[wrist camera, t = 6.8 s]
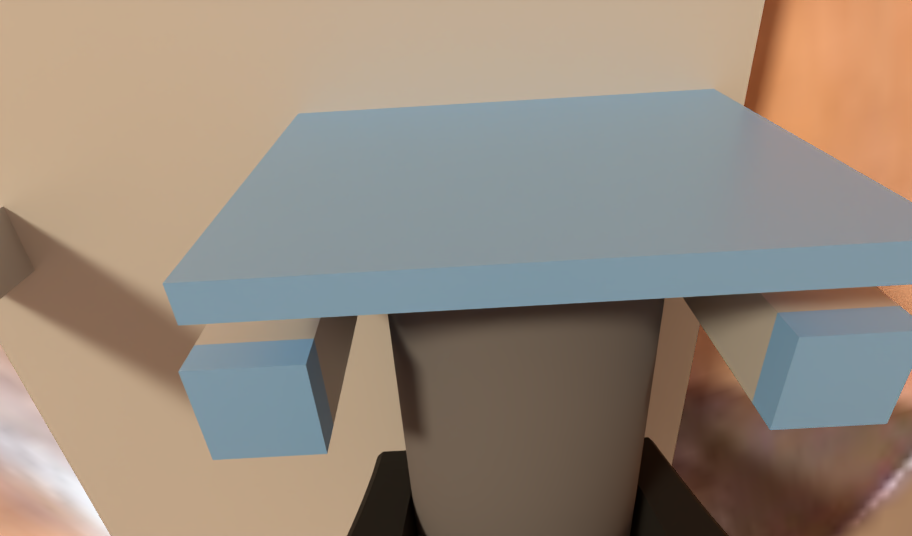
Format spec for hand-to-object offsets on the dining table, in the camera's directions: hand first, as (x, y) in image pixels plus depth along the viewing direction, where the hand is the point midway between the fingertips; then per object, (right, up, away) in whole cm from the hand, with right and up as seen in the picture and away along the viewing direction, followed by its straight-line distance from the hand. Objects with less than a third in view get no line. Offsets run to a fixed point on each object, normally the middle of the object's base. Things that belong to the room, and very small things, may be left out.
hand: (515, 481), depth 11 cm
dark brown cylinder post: (0, +1, 0) cm, 1 cm away
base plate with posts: (-3, +3, +1) cm, 4 cm away
